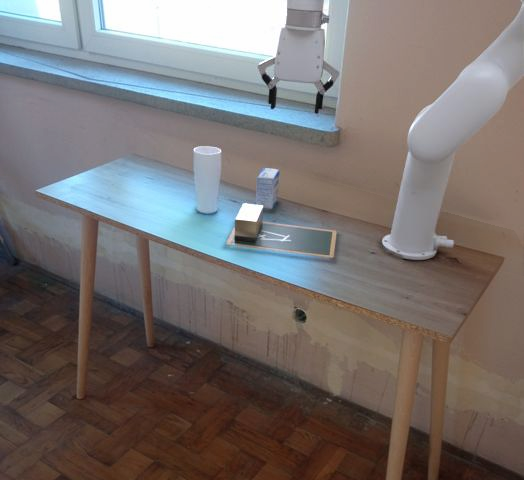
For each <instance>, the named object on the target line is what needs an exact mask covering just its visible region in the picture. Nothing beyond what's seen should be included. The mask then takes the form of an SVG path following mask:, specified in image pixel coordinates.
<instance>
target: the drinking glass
mask: <svg viewBox="0 0 524 480" xmlns="http://www.w3.org/2000/svg"><path fill="white" fill-rule="evenodd" d="M192 151H193V152H192V153H193V154H192V166H193V179H194V180H193V181H194V189H195V190H194V191H195V201H196V203H195V205H196V207H195V208H196V211H197V212H199V213H201V214H205V215H209V214H210V215H211V214H214V213H216V212H217V211H218V208H219V193H220V184H221V175H222V174H221V173H222V149H221V148H218V147H216V146H211V145H203V146H202V145H201V146H196V147H194V148H193V150H192Z"/></svg>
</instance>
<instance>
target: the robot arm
mask: <svg viewBox="0 0 524 480" xmlns="http://www.w3.org/2000/svg"><path fill="white" fill-rule="evenodd" d="M519 1H520V2H521V6H520V9H519V11H518V13H517V15H516V16H515V17H514V19H513V20H512V21H511V22H510V23H509V25H507V27H506V28H505V29H503V31H502V32H501V33H500V34H499V35H498V37H497V38H495V40H494V41H493V42H492V43H491V44H489V46H488V47H487V48H486V49H485V50H484V51H483V52H482V53H481V54H480V55H479V56H477V57H476V58H475V59H474V60H473V61H472V62H471V63H469V64H468V65H467V66H466V67H464V68H463V70H462V71H461V72H460V73H459V75H458V77H457V78H456V79H455V80H454V81H453V83H451V85H449V87H447V89H446V90H445V91H444V92H442V94H440V96H439V97H438V98H437V99H436V100H434V101H433V103H430V104H429V105H427V106H425V107H423V109H422V110H420V111H419V113H418V114H417V115H416V116H415V118H414V120H413V122H412V123H411V126H410V127H409V130H408V133H407V137H406V138H407V140H406V144H407V148H408V152H407V156H406V159H405V165H404V169H403V173H402V178H401V183H400V187H399V191H398V192H399V193H398V196H397V202H396V207H395V211H394V216H393V220H392V226H391V230H390V233H389V234H387V235H385V236H383V237H382V240H381V244H382V245H383V246H384V247H385V249H387V250H388V251H390V252H392V253H393V254H394V253H395V254H397V255H401V258H402V259H405V260H411V261H424V260H429V259H431V258H434V257H435V256H436V254H437V252H438V248H444V249H451V250H452V249H453V248H454V244H455V240H453V239H448V237H447V235H446V236H445V235H437V233H436V228H437V224H438V220H439V216H440V212H441V208H442V205H443V201H444V198H445V194H446V190H447V186H448V183H449V179H450V174H451V171H452V168H453V163H454V160H455V156H456V152H457V151H458V150H459V149H460V148H461V147H462V146H464V144H466V143H467V141H469V140H470V139H471V138H472V137H473V136H474V135H475V134H476V133H478V132H479V131H480V130H481V129H482V128H483V127H484V126H485V125H487V123H488V122H489V121H490V120H492V118H494V116H495V115H496V114H498V112H499V111H500V110H501V108H502V107H503V106H504V103H505V101H506V99H507V95H508V92H509V91H510V90H511V89H512V88H513V87H514V86H515V85H516V84H517V83H519V81H520V80H521V79H522V78H524V0H519ZM324 5H325V0H285V8H284V22H283V25H280V28H279V32H278V37H277V41H276V42H277V43H276V48H275V55H274V56H273V57H270V58H268V59H266V60H264V61H262V62H260V63H259V64H258V65H257V70H258V71H259V74H260V77H261V80H262V81H263V82H264V83H265V85H266V86H267V88H268V102H267V103H268V105H270V110H274V109H275V108H276V106H277V96H278V95H277V93H278V88H277V84H278V83H279V82H280V81H282V82H290V83H291V82H292V83H302V84H314V86H315V87H316V89H317V92H316V96H315V104H314V114H316V115H318V114H319V110H322V109H323V104H324V103H323V102H324V96H325V95H324V94H325V93H326V92H328V90H330V89H331V88H332V87H333V86H334V84H335V82H336V81H337V79H338V78H339V77H340V71H339V70H338V69H337V68H335V67H334V66H332V65H331V64H329V62H327V61H325V51H326V50H325V49H326V33H325V31H326V30H325V29H324V28H322V25H324V24H329V23H330V15H327V14H325V13H324ZM270 66H273V75H274V77H273V78H271V77H270V75H269V74H268V72H267V68H269V67H270ZM324 71H326V72H327V73H328V74H330V77H329V78H328V80H327V81H326V82H325V83H323V81H322V78H323V74H324Z"/></svg>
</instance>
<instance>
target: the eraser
mask: <svg viewBox="0 0 524 480" xmlns="http://www.w3.org/2000/svg"><path fill="white" fill-rule="evenodd" d="M263 222H264V208H263V205H256V204H253V203H246V202H245V203H244V202H243V203H242V205H241V207H240V209H239V211H238V212H237V215H236V216H235V219H234V227H235V240H236V241H245V242H253V243H256V240H257V238H258V235H259V233H260V230H261V228H262V223H263Z"/></svg>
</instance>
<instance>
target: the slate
mask: <svg viewBox="0 0 524 480" xmlns="http://www.w3.org/2000/svg"><path fill="white" fill-rule="evenodd" d="M337 233H338V230H333V229H325V228H316V227H309V226H301V225H292V224H285V223H277V222H276V223H275V222H268V221H263V223H262V228H261V230H260V233H259V235H258V238H257V240H256V243H253V242H245V241H236V240H235V226H233V228H232V231H231V232H230V235H229V236H228V239H227V241H226V243H225V245H228V246H236V247H244V248H251V249H259V250H268V251H275V252H283V253H292V254H299V255H307V256H314V257H322V258H329V259H334V257H335V251H336V241H337Z"/></svg>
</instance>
